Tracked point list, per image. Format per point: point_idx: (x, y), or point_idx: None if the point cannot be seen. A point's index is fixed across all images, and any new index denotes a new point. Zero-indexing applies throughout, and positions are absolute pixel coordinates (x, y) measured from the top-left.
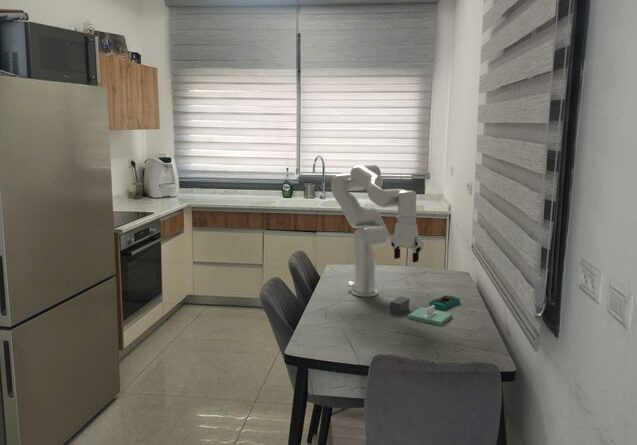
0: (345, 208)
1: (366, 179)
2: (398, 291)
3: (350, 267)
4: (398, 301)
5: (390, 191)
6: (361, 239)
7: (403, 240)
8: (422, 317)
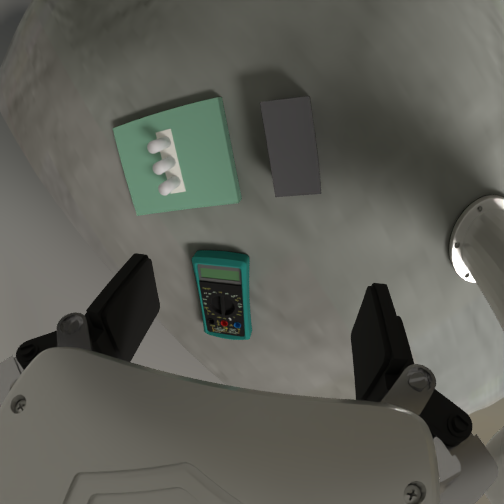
0: None
1: None
2: (402, 317)
3: None
4: (285, 127)
5: None
6: None
7: (141, 494)
8: (167, 114)
